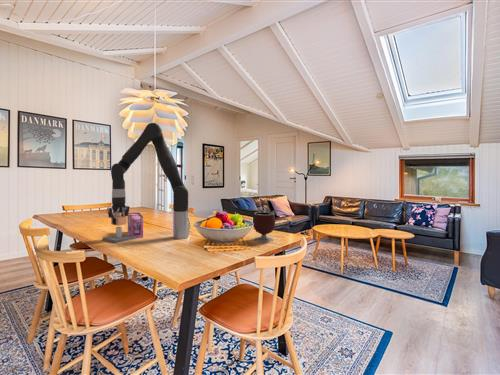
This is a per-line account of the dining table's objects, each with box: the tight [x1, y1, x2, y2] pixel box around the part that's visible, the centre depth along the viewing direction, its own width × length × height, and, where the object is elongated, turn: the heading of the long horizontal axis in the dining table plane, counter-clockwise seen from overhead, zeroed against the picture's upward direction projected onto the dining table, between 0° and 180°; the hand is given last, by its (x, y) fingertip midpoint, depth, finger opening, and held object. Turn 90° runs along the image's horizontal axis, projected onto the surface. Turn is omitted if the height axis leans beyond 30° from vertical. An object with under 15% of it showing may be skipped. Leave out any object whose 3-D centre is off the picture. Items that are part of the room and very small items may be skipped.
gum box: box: [127, 212, 144, 239], centre depth 182 cm, size 24×8×14 cm, turn 28°
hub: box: [110, 215, 127, 227], centre depth 169 cm, size 5×7×4 cm
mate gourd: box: [252, 209, 277, 243], centre depth 174 cm, size 16×14×20 cm
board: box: [102, 226, 136, 244], centre depth 169 cm, size 13×13×8 cm
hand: (118, 223), depth 169 cm, fingers closed on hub, 5 cm apart
